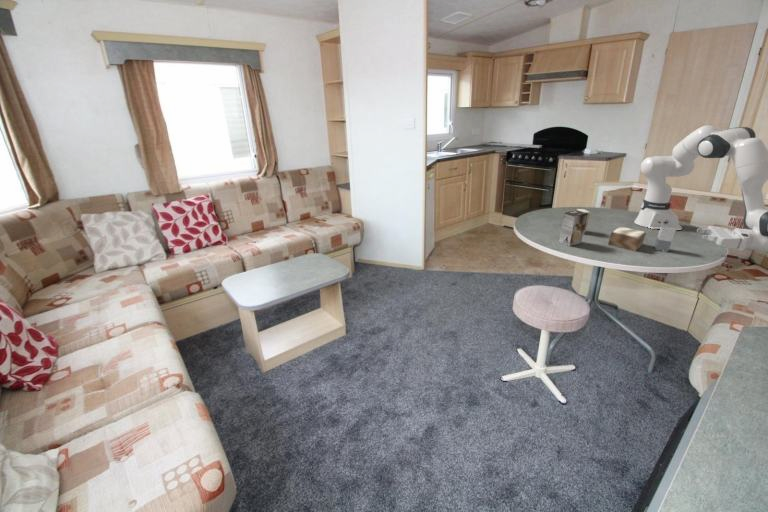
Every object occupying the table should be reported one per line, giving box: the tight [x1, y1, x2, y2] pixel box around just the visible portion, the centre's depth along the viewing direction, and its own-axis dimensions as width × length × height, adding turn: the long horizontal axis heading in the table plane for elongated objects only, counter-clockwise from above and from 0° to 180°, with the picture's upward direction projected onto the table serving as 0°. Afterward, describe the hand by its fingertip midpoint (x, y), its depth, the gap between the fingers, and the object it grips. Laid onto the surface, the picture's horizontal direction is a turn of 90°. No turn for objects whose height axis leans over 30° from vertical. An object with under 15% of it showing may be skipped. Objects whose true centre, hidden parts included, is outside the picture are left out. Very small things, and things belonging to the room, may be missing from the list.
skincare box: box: [576, 208, 591, 234], centre depth 197 cm, size 6×4×12 cm
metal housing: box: [653, 226, 676, 252], centre depth 174 cm, size 5×5×11 cm
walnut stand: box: [608, 226, 647, 252], centre depth 180 cm, size 12×12×7 cm
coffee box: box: [558, 209, 588, 247], centre depth 181 cm, size 9×6×16 cm
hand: (699, 233), depth 166 cm, fingers open, 8 cm apart
